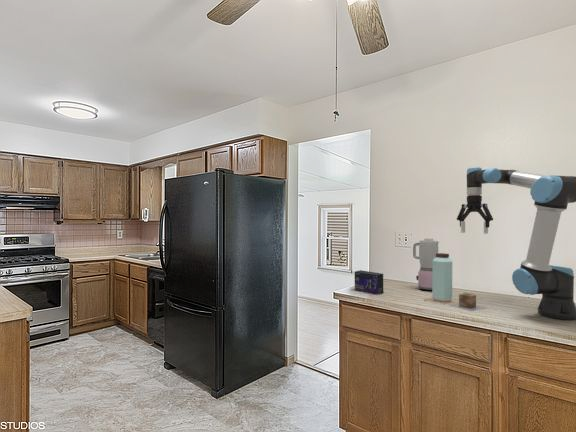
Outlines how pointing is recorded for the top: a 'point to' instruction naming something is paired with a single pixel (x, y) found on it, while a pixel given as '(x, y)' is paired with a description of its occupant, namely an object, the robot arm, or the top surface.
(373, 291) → the black digital alarm clock
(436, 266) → the water bottle
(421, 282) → the blender
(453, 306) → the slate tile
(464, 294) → the walnut block
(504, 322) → the top surface
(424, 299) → the terracotta tile
